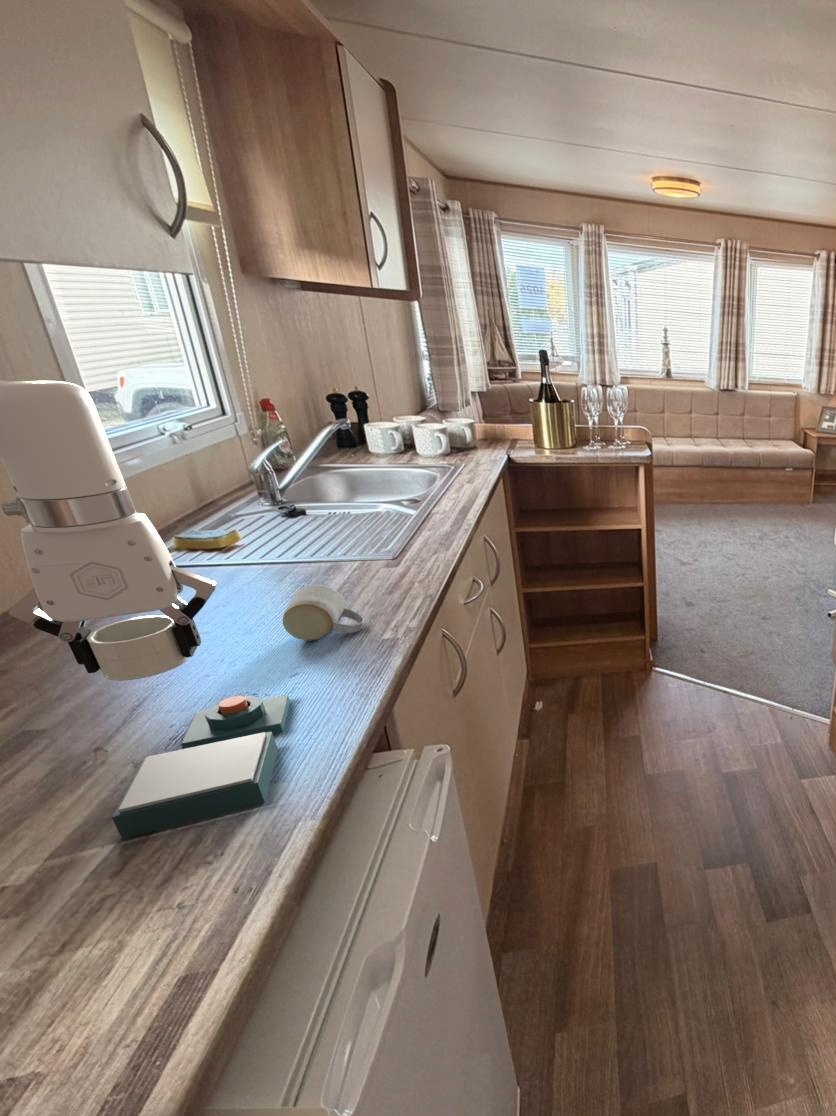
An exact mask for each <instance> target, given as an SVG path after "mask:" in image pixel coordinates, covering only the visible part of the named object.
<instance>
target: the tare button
mask: <svg viewBox="0 0 836 1116" xmlns="http://www.w3.org/2000/svg"><path fill="white" fill-rule="evenodd" d="M244 696H245V695H244ZM244 696H243V695H234V696H230V697H229V696H228V697H227V698H224V699H222V700H221V701H219V702H218V703H219V704H218V703H217V704H218V707H219V709H220V712H221V714H222V715H229V714H234V713H238V712H240V711H243V710H245V709H246V708H248V704H247V701H246V698H245V697H244Z"/></svg>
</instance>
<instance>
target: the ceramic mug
mask: <svg viewBox="0 0 836 1116" xmlns="http://www.w3.org/2000/svg"><path fill="white" fill-rule="evenodd" d="M343 617H344V618H348V619H351V620H353V621H355V622H356V623H357V624H342V623H339V622H340V621H341V619H342V618H343ZM364 623H365V618H364V616H362V615H361V614H360V613H358V612H357V611H354V610H352V609H349V608H346V602H345V599H344V597H343V596H342V595H341V593H339V592H338V591H337V590H335V589H334V588H332V587H330V586H327V585H324V584H323V585H321V584H309V585H305V586H303V587H301V588H299V589H298V590H297V591H296V592H295V593H294V594H293V596H292V598H291V599H290V601H289V603H288V605H287V606H286V608H285V610H284V612H283V615H282V625H283V628H284V630H285V631H286V632H287V633H288V634H289V635H290V636H292V637H294V638H296V639H298V640H302V641H307V642H308V641H318V640H320V639H324V638H325V637H327V636H328V635H329V634H331V633H332V632H333V631H334V632H338V633H344V634H347V633H348V634H353V633H356V632H357V633H358V632H359V631H361V630H362V629H363V626H364Z"/></svg>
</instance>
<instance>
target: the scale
mask: <svg viewBox="0 0 836 1116" xmlns="http://www.w3.org/2000/svg"><path fill="white" fill-rule="evenodd" d="M278 753H279V749H278V746H277V742H276V740H275V736H274V735H273V734H272V732H267V733H265V732H263V733H258V734H253V735H248V736H244V737H239V738H234V739H229V740H224V741H220V742H215V743H210V744H205V745H200V746H196V747H191V748H186V749H183V748H181V749H177V750H171V751H168V752H167V751H166V752H162V753H157V754H153V755H147V756H146V757H144V758H143V759H142V760H141V762H140V764H139V766H138V768H137V769H136V772H135V774H134V775H133V777H132V779H131V781H130V782H129V784H128V786H127V788H126V790H125V792H124V794H123V795H122V797H121V798H120V801H119V802H118V805H117V806H116V808H115V810H114V812H113V814H112V815H111V820H112V822H113V824H114V826H115V828H116V830H117V831H118V834H119V836H120V838H121V839H127V838H131V837H134V836H138V835H139V836H140V835H143V834H146V833H150V832H154V831H159V830H163V829H167V828H170V827H174V826H178V825H182V824H187V823H191V822H194V821H198V820H203V819H206V818H211V817H215V816H219V815H221V814H226V813H230V812H234V811H239V810H242V809H246V808H250V807H254V806H258V805H262V804H265V803H266V801H267V798H268V797H267V796H268V792H269V788H270V784H271V781H272V776H273V773H274V769H275V765H276V760H277V757H278Z"/></svg>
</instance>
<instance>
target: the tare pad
mask: <svg viewBox="0 0 836 1116" xmlns="http://www.w3.org/2000/svg"><path fill="white" fill-rule="evenodd" d="M244 697H245V698H246V701H247V704H248V708H246V709H245V710H243V711H240V712H238V713H234V714H229V715H222V714H221V712H220V709H219V707H218V704H219V702H218V703H216V704H214V705H213V706H211V707H210V708H209V709H205V710H199V711H196V712H195V713H194V716H193V718H192V720H191V722H190V724H189V726H188V728H187V730H186V732H185V734H184V736H183V739H182V740H181V743H180V745H181V749H186V748H191V747H196V746H200V745H205V744H210V743H215V742H220V741H224V740H229V739H234V738H239V737H244V736H248V735H253V734H258V733H263V732H265V733H267V732H272V734H278V733H283V732H284V729H285V725H286V721H287V717H288V713H289V710H290V706H291V701H290V697H289V695H288V694H284V695H279V696H273V697H268V698H260V697H258V696H256V695H244Z"/></svg>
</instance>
